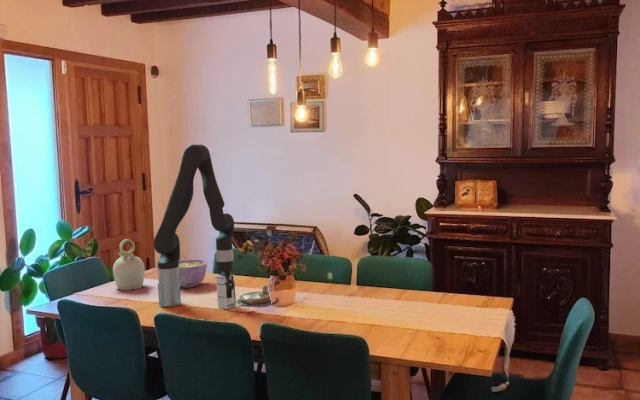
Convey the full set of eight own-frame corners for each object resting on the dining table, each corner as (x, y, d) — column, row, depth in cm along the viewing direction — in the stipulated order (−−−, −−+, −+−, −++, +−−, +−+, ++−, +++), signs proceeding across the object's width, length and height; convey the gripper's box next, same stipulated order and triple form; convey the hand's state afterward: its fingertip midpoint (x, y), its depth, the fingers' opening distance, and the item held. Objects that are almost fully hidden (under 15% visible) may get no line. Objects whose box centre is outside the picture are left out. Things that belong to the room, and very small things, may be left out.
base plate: (242, 309, 262) (242, 307, 262) (229, 299, 278) (229, 298, 278) (283, 302, 271) (283, 301, 271) (268, 293, 287) (268, 292, 287)
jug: (112, 286, 310) (109, 238, 308) (143, 282, 317) (140, 235, 314) (115, 293, 297) (112, 243, 294) (148, 288, 303) (144, 239, 300)
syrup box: (226, 309, 262) (225, 276, 261) (217, 307, 266) (215, 275, 264) (236, 306, 267) (234, 274, 265) (226, 304, 270) (225, 272, 269)
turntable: (232, 301, 272) (232, 290, 272) (254, 292, 286) (254, 283, 285) (260, 305, 264) (260, 295, 263) (281, 296, 277) (281, 286, 277)
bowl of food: (161, 289, 300) (159, 266, 299) (181, 280, 319) (180, 258, 318) (196, 291, 295) (195, 268, 293) (215, 281, 314) (214, 259, 312)
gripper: (238, 261, 259) (239, 298, 261) (228, 255, 272) (229, 291, 274) (221, 263, 256) (223, 301, 258) (211, 257, 269) (213, 293, 271)
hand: (226, 295), depth 266 cm, fingers closed on syrup box, 7 cm apart
